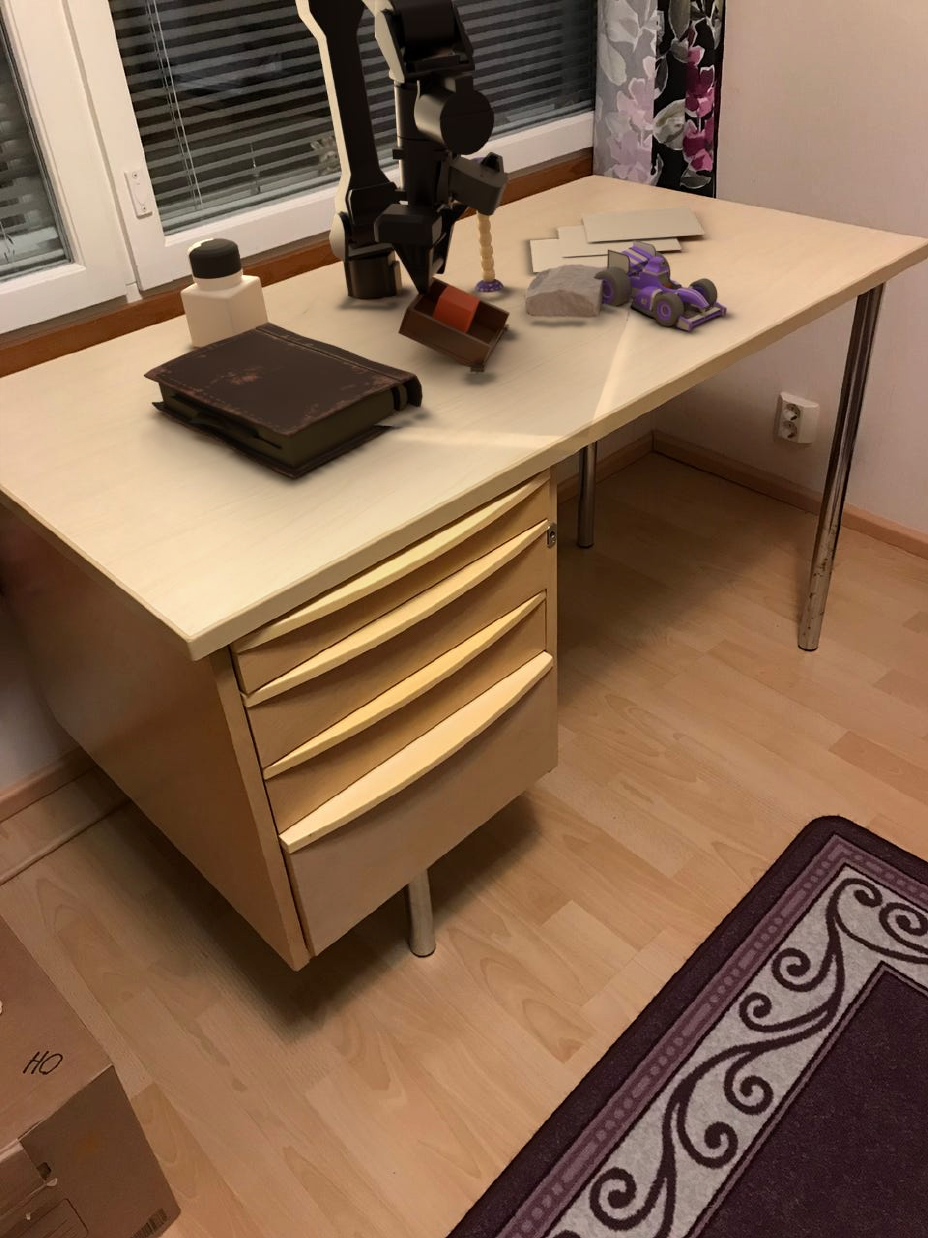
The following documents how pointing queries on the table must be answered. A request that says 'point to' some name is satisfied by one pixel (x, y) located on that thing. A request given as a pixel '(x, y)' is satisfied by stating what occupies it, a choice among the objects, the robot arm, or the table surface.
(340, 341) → the table surface
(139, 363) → the table surface
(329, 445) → the diary
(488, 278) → the toy lamp
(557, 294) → the stone block
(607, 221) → the paper stack
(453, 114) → the robot arm
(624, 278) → the toy race car
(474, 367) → the hinge brackets
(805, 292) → the table surface
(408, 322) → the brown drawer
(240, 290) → the medicine bottle
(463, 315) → the cube
